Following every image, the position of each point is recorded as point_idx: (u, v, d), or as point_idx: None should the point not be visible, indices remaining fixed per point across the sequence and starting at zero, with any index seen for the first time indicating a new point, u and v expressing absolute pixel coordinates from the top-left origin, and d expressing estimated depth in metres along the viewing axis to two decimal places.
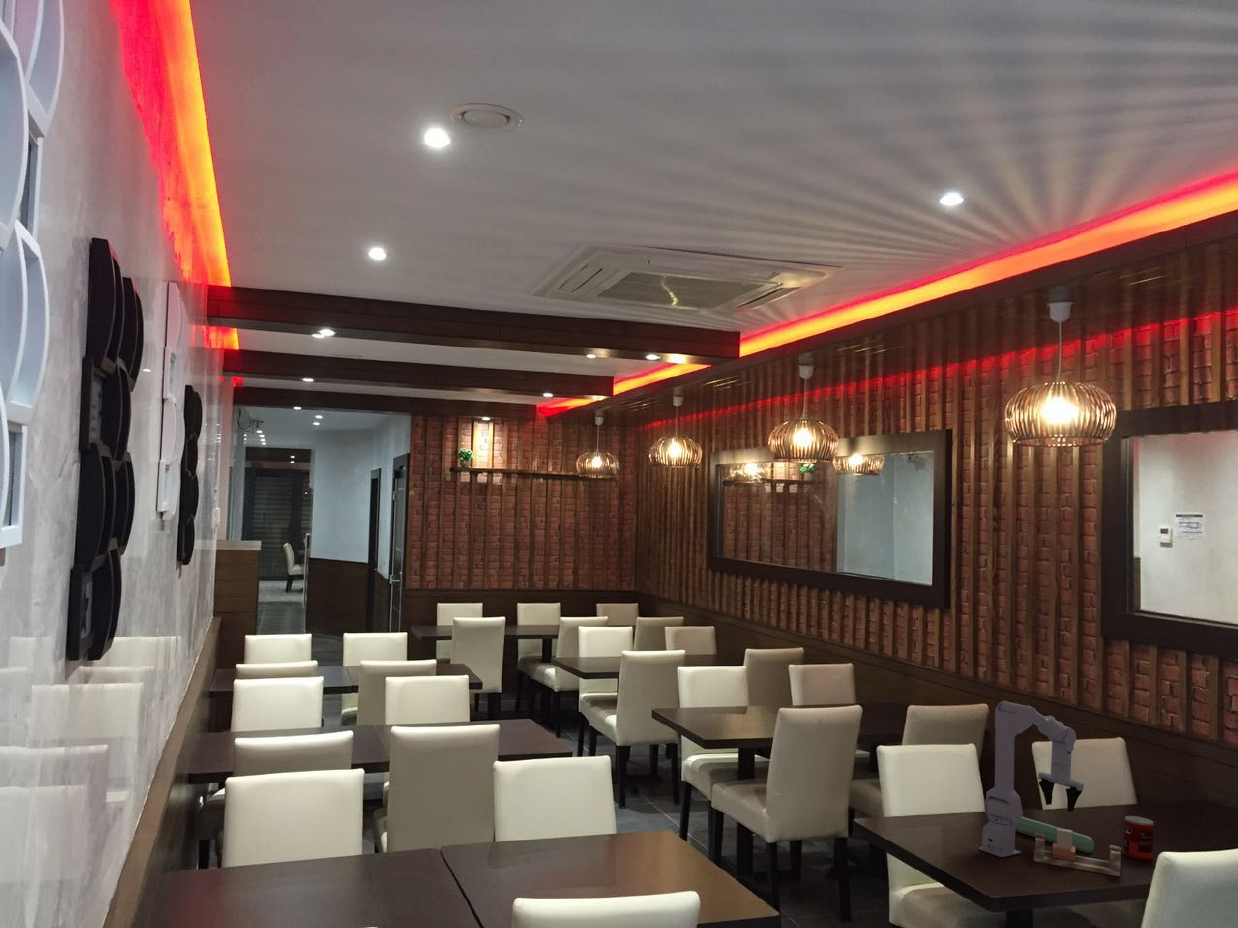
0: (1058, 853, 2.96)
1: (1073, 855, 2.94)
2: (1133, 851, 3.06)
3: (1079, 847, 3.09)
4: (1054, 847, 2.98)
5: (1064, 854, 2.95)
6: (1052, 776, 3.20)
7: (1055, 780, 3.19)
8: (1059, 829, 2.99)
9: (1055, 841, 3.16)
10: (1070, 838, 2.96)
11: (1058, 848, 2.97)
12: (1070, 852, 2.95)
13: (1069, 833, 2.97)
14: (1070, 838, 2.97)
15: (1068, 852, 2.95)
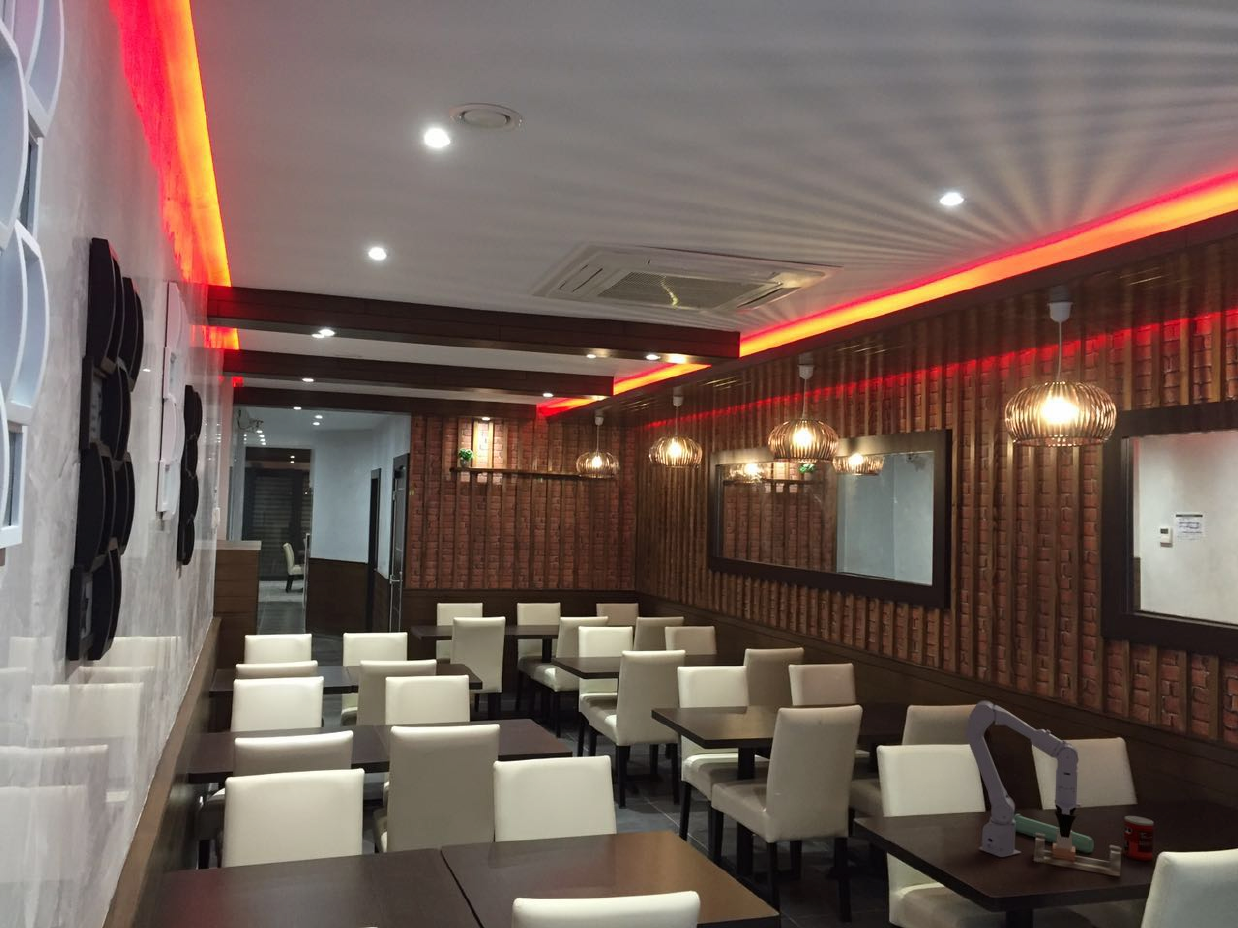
0: (1058, 853, 2.96)
1: (1073, 855, 2.94)
2: (1133, 851, 3.06)
3: (1079, 847, 3.09)
4: (1054, 847, 2.98)
5: (1064, 854, 2.95)
6: None
7: None
8: (1059, 829, 2.99)
9: (1055, 841, 3.16)
10: (1070, 838, 2.96)
11: (1058, 848, 2.97)
12: (1070, 852, 2.95)
13: None
14: (1070, 838, 2.97)
15: (1068, 852, 2.95)
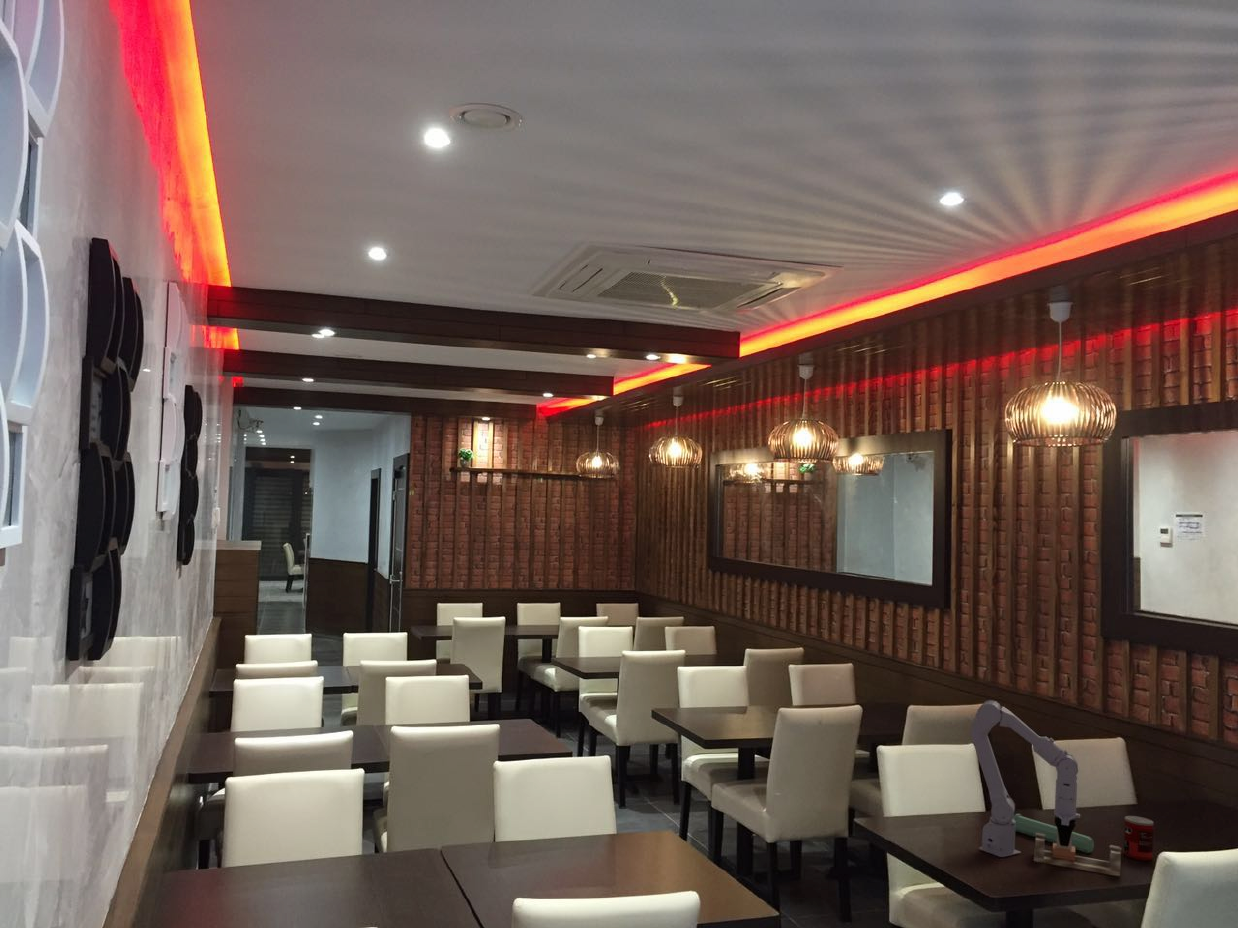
0: (1058, 853, 2.96)
1: (1073, 855, 2.94)
2: (1133, 851, 3.06)
3: (1079, 847, 3.09)
4: (1054, 847, 2.98)
5: (1064, 854, 2.95)
6: None
7: (1054, 812, 3.00)
8: None
9: (1055, 841, 3.16)
10: (1070, 838, 2.96)
11: (1058, 848, 2.97)
12: (1070, 852, 2.95)
13: None
14: (1070, 838, 2.97)
15: (1068, 852, 2.95)
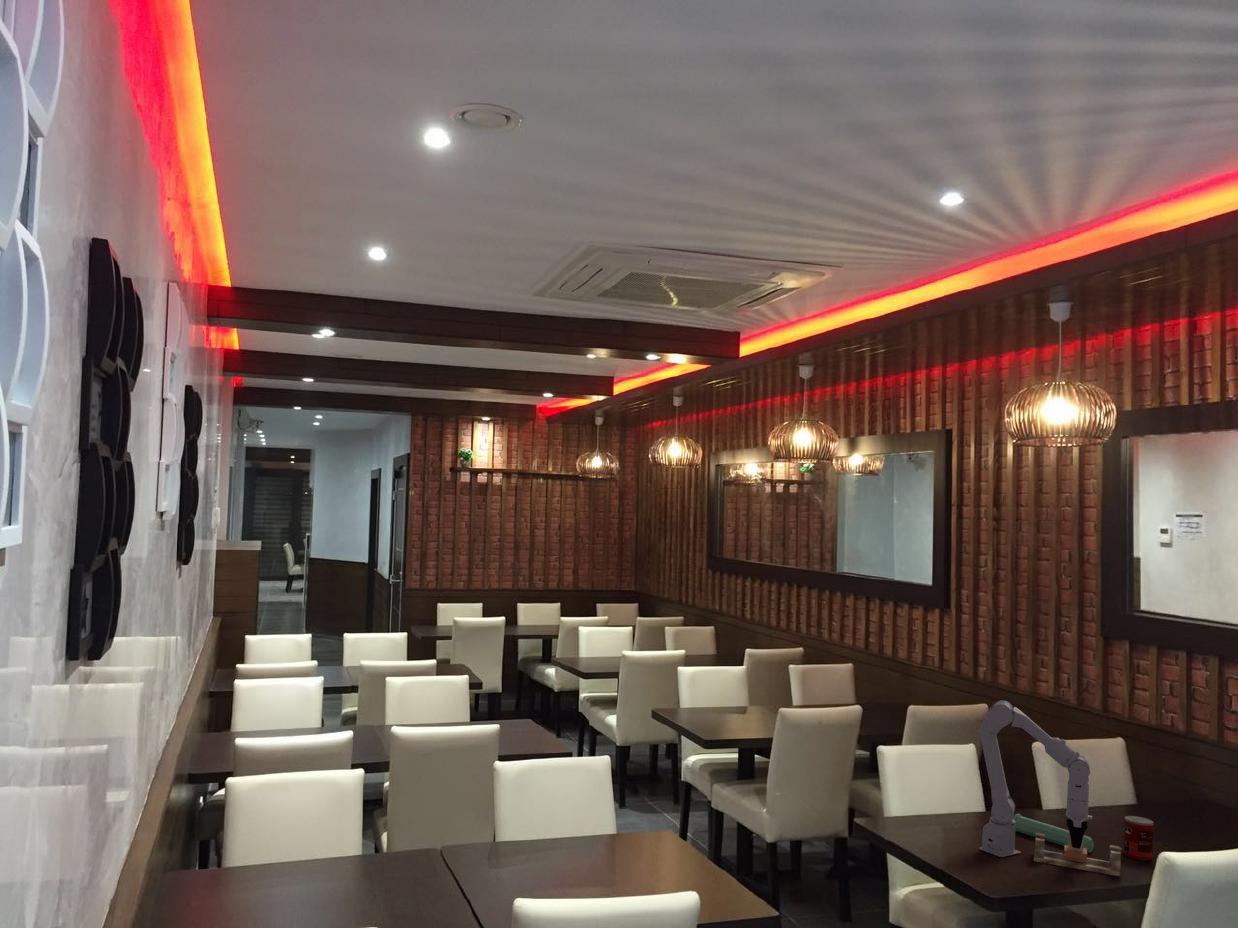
0: (1070, 855, 2.95)
1: (1085, 857, 2.93)
2: (1133, 851, 3.06)
3: None
4: (1066, 849, 2.96)
5: (1076, 856, 2.94)
6: None
7: None
8: None
9: (1055, 841, 3.16)
10: (1082, 840, 2.95)
11: (1070, 850, 2.96)
12: (1082, 854, 2.93)
13: None
14: None
15: (1080, 854, 2.94)
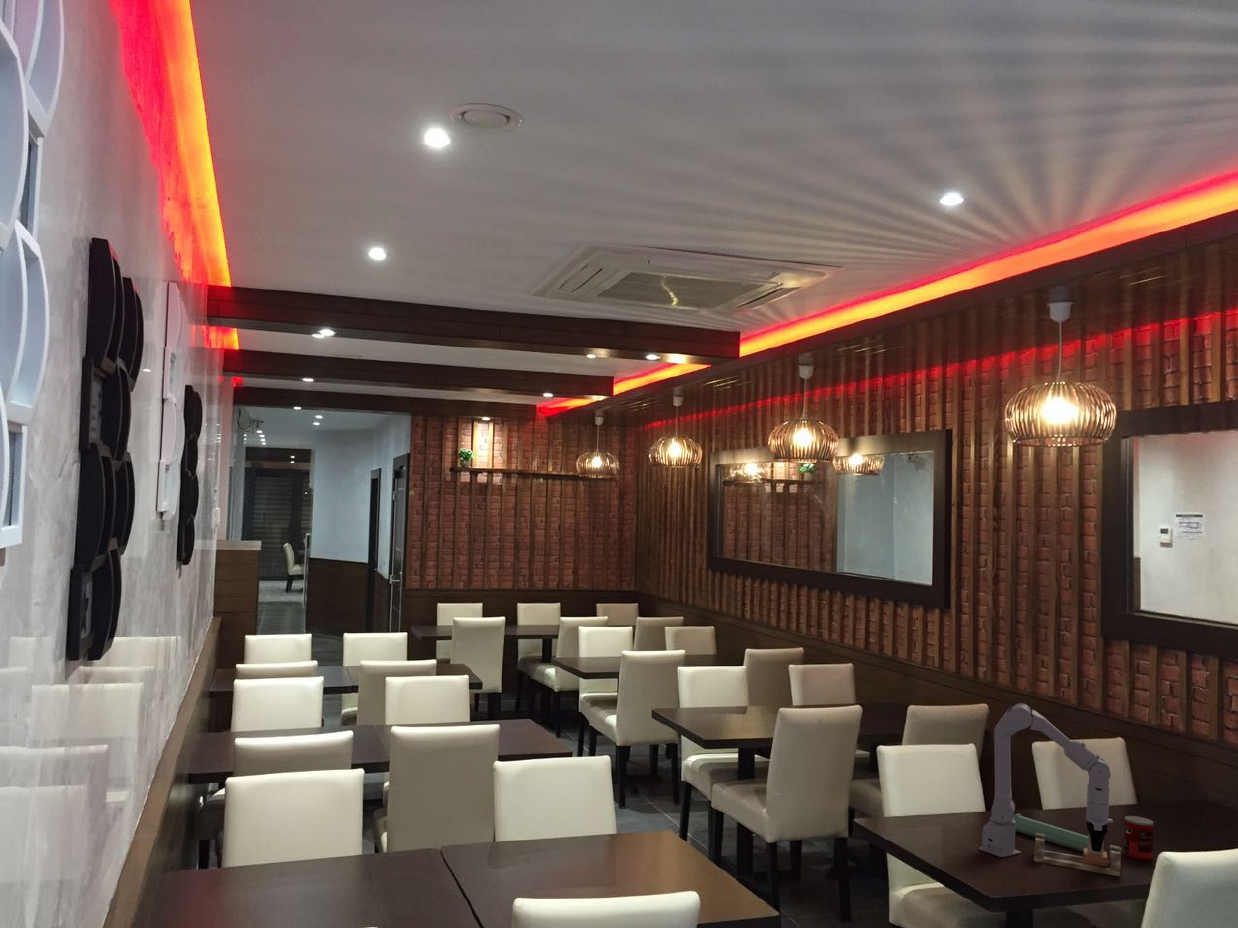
0: (1090, 858, 2.93)
1: (1105, 861, 2.91)
2: (1133, 851, 3.06)
3: (1079, 847, 3.09)
4: (1085, 852, 2.94)
5: (1096, 859, 2.92)
6: None
7: None
8: None
9: (1055, 841, 3.16)
10: None
11: (1089, 853, 2.93)
12: (1102, 857, 2.91)
13: None
14: None
15: (1100, 857, 2.91)
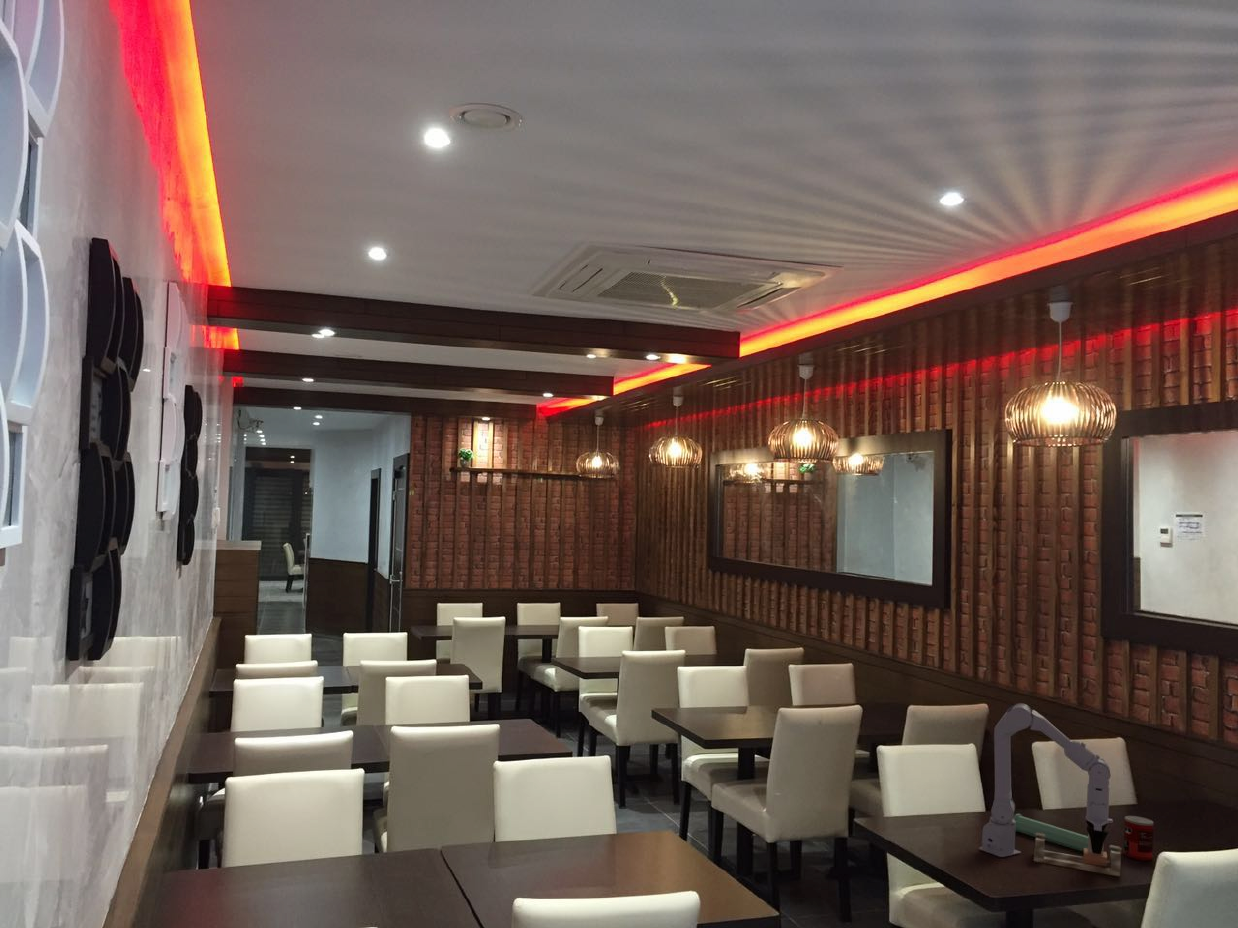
0: (1090, 858, 2.93)
1: (1105, 861, 2.91)
2: (1133, 851, 3.06)
3: (1079, 847, 3.09)
4: (1085, 852, 2.94)
5: (1096, 859, 2.92)
6: None
7: None
8: None
9: (1055, 841, 3.16)
10: None
11: (1089, 853, 2.93)
12: (1102, 857, 2.91)
13: None
14: None
15: (1100, 857, 2.91)
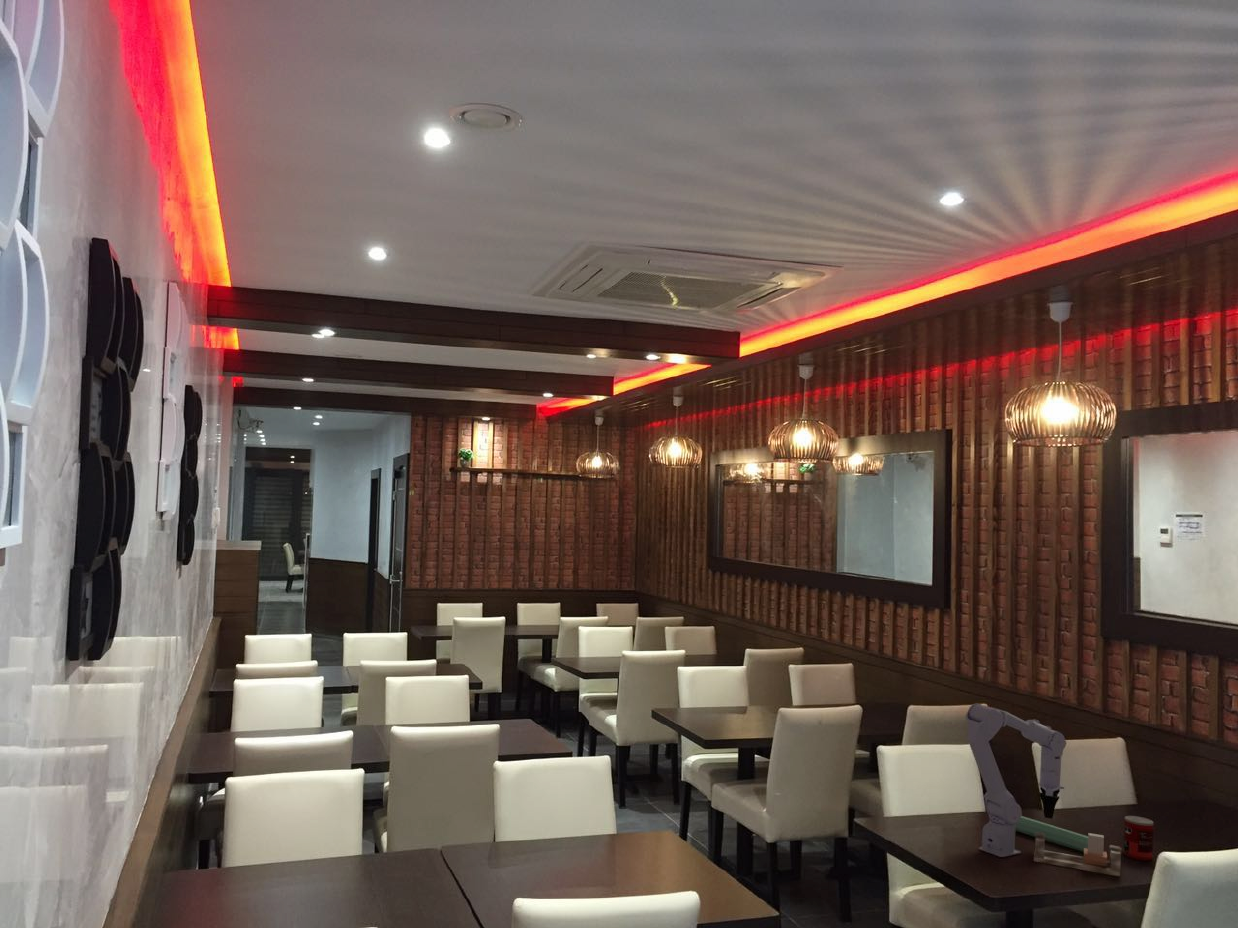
0: (1090, 858, 2.93)
1: (1105, 861, 2.91)
2: (1133, 851, 3.06)
3: (1079, 847, 3.09)
4: (1085, 852, 2.94)
5: (1096, 859, 2.92)
6: None
7: (1039, 784, 3.12)
8: (1090, 834, 2.95)
9: (1055, 841, 3.16)
10: (1102, 843, 2.93)
11: (1089, 853, 2.93)
12: (1102, 857, 2.91)
13: (1101, 838, 2.93)
14: (1101, 844, 2.93)
15: (1100, 857, 2.91)
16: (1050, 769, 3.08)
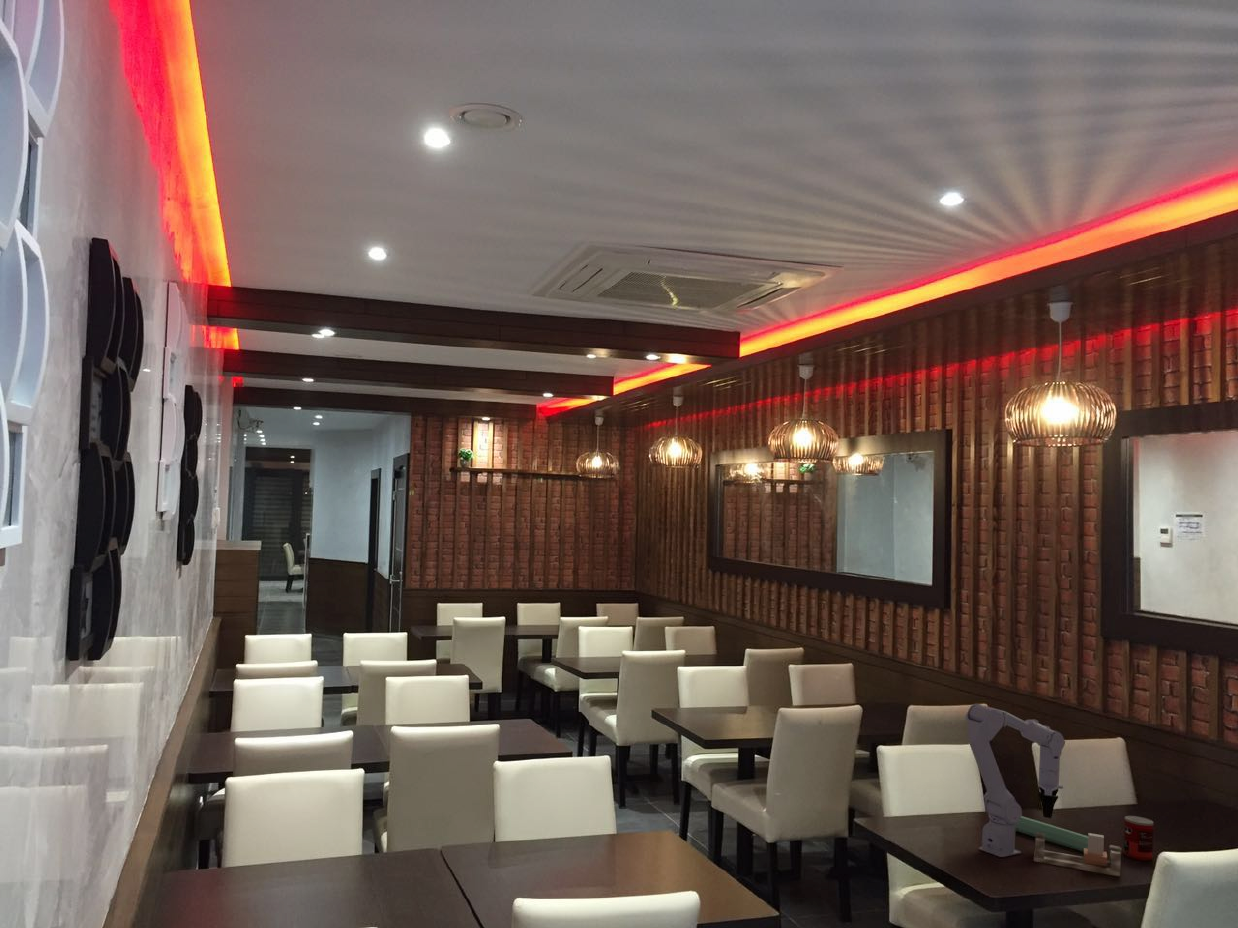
0: (1090, 858, 2.93)
1: (1105, 861, 2.91)
2: (1133, 851, 3.06)
3: (1079, 847, 3.10)
4: (1085, 852, 2.94)
5: (1096, 859, 2.92)
6: None
7: (1038, 783, 3.12)
8: (1090, 834, 2.95)
9: (1055, 841, 3.16)
10: (1102, 843, 2.93)
11: (1089, 853, 2.93)
12: (1102, 857, 2.91)
13: (1101, 838, 2.93)
14: (1101, 844, 2.93)
15: (1100, 857, 2.91)
16: (1049, 769, 3.09)
